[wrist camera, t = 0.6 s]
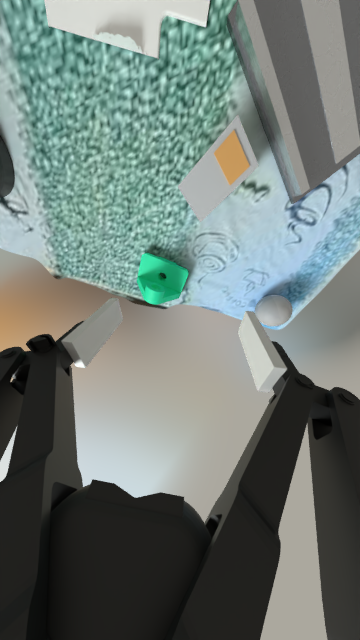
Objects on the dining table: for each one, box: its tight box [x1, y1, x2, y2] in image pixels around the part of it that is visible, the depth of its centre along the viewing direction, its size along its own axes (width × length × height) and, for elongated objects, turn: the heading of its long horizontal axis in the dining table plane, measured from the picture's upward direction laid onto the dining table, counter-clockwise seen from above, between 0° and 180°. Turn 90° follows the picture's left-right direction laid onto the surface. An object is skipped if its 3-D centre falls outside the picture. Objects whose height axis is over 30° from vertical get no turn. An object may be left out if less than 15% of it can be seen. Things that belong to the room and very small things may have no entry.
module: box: [178, 115, 259, 222], centre depth 24 cm, size 6×10×8 cm, turn 130°
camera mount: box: [137, 253, 189, 304], centre depth 34 cm, size 12×8×10 cm, turn 69°
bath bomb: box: [255, 295, 292, 326], centre depth 36 cm, size 8×8×8 cm
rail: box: [227, 0, 360, 204], centre depth 18 cm, size 24×16×3 cm, turn 40°
